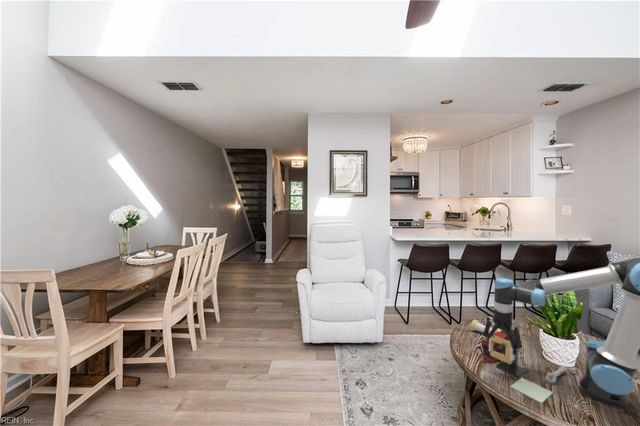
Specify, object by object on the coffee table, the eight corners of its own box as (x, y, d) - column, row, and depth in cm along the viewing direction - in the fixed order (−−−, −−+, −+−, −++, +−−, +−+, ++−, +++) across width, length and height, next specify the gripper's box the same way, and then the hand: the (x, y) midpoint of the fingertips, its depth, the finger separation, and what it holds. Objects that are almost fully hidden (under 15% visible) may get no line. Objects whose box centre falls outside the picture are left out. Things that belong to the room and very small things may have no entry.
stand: (526, 372, 138) (527, 341, 137) (510, 384, 129) (511, 350, 128) (504, 362, 146) (505, 332, 145) (488, 372, 137) (489, 341, 136)
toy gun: (521, 352, 154) (518, 328, 152) (492, 370, 146) (489, 345, 144) (511, 347, 159) (508, 324, 157) (483, 365, 151) (480, 340, 149)
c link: (512, 362, 132) (513, 342, 132) (510, 364, 131) (510, 344, 130) (492, 353, 140) (493, 334, 139) (490, 355, 138) (490, 336, 138)
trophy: (469, 319, 181) (520, 339, 155) (476, 317, 185) (527, 336, 159) (469, 331, 181) (520, 353, 155) (476, 329, 185) (526, 350, 159)
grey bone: (543, 381, 131) (552, 386, 127) (543, 370, 131) (553, 375, 127) (559, 374, 139) (569, 379, 136) (560, 364, 140) (570, 368, 136)
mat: (552, 393, 123) (552, 392, 123) (541, 403, 116) (541, 402, 116) (522, 378, 133) (522, 377, 133) (510, 387, 127) (510, 386, 127)
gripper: (532, 316, 127) (530, 364, 128) (484, 301, 145) (482, 343, 146) (525, 320, 123) (523, 369, 124) (476, 304, 141) (474, 347, 142)
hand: (501, 355), depth 135 cm, fingers closed on c link, 9 cm apart
